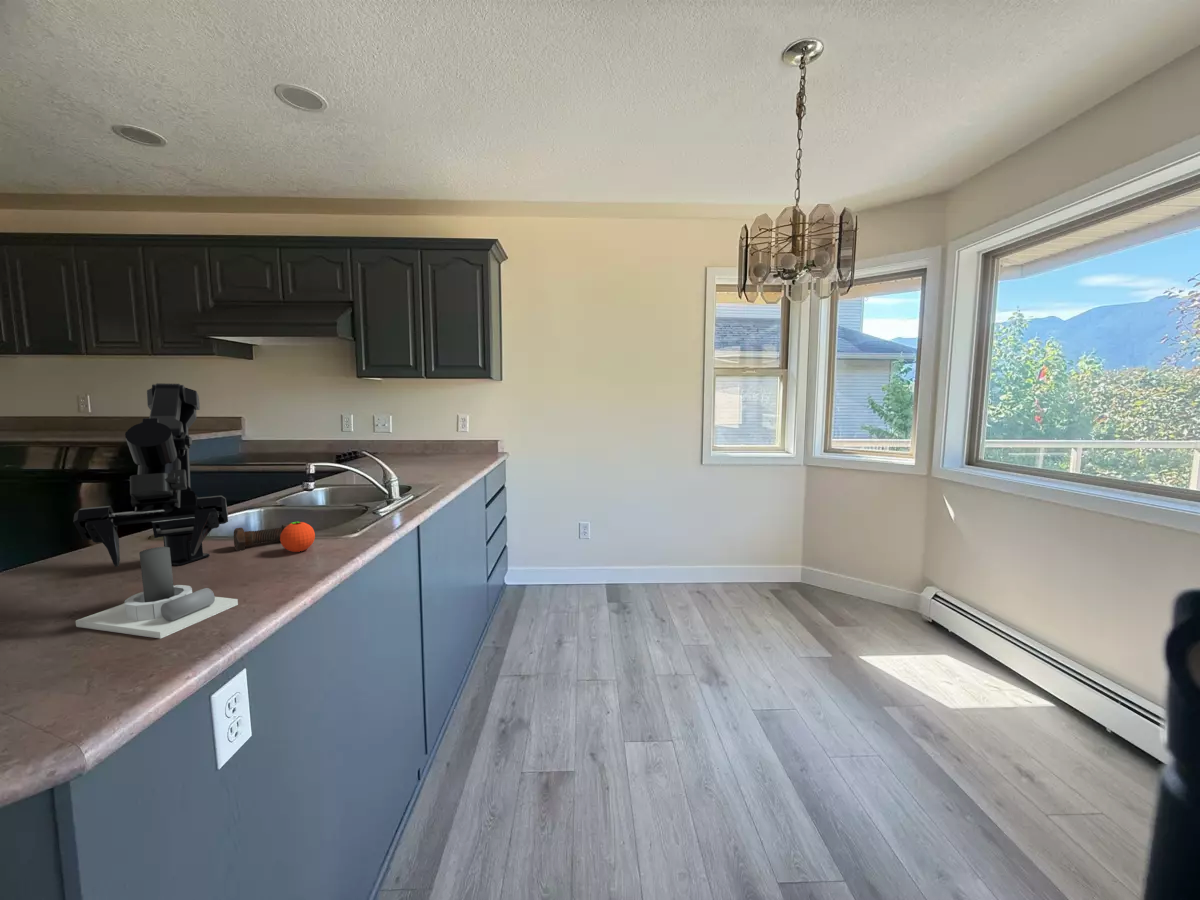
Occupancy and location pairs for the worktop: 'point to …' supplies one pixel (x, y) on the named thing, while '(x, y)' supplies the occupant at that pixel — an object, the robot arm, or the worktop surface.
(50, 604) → the worktop surface
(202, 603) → the white socket base plate
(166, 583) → the crank handle
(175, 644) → the worktop surface
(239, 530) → the bolt
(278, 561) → the worktop surface
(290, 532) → the clementine
